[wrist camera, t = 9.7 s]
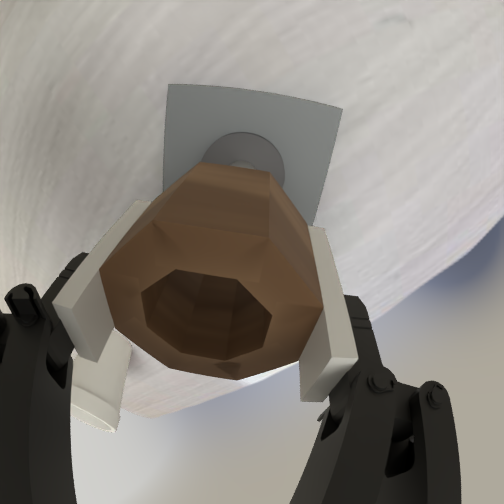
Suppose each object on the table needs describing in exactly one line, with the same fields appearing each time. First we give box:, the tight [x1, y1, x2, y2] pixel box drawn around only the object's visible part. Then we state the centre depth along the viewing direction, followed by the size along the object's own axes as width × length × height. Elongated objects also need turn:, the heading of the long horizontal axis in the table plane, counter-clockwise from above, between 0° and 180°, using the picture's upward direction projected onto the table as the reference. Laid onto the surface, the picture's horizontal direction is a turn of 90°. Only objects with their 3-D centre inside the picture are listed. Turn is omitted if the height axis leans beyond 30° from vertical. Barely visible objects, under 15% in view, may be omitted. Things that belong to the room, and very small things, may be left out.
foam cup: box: [70, 330, 132, 432], centre depth 30 cm, size 10×9×13 cm
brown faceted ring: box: [99, 162, 324, 380], centre depth 10 cm, size 7×7×5 cm
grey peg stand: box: [163, 84, 343, 226], centre depth 16 cm, size 12×12×10 cm
